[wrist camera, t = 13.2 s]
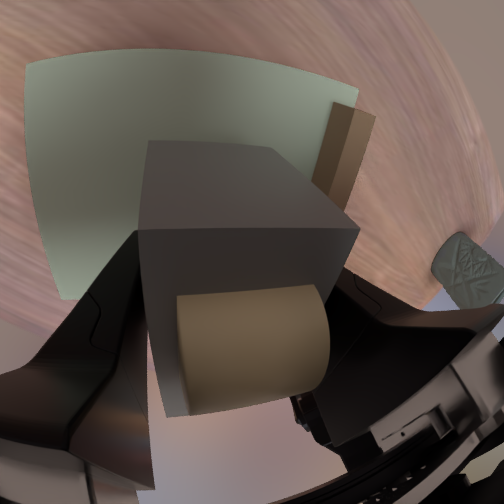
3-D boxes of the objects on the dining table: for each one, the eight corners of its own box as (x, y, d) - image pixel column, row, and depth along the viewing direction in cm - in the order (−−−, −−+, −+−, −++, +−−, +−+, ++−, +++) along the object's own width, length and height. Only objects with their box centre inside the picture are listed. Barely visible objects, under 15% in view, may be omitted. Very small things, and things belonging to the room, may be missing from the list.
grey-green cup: (461, 218, 31) (516, 270, 22) (470, 241, 36) (513, 285, 28) (420, 269, 35) (469, 328, 26) (435, 283, 40) (475, 331, 32)
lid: (288, 275, 18) (304, 304, 16) (64, 286, 13) (56, 322, 11) (346, 85, 11) (382, 95, 9) (36, 63, 6) (7, 66, 4)
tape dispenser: (235, 310, 13) (281, 435, 9) (153, 316, 12) (174, 456, 7) (271, 147, 9) (411, 284, 4) (148, 140, 7) (135, 318, 3)
